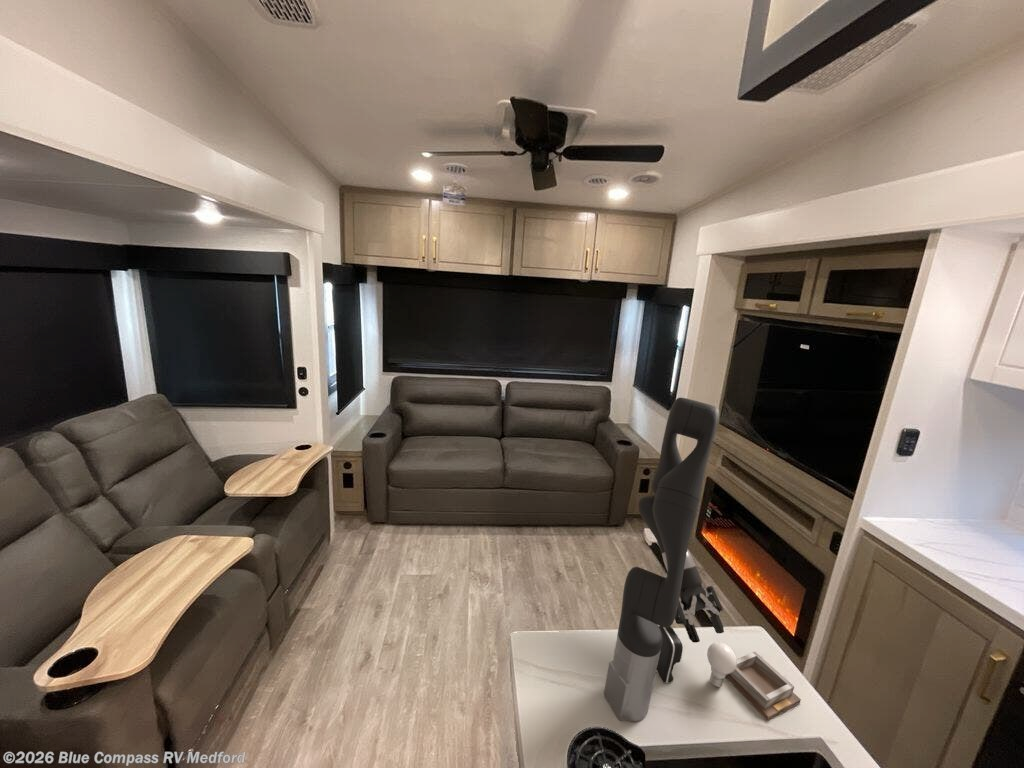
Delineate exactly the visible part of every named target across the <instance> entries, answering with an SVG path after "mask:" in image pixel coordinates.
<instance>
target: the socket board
mask: <svg viewBox="0 0 1024 768" xmlns="http://www.w3.org/2000/svg"><path fill="white" fill-rule="evenodd" d="M736 659H737V666H736V669H735V670H734V671H733V672H732V673H730V674H727V675H726V677H725V678H724V679H726V680H727V681H728V682H729V683H730V684H731V685H732V686H733V687H734V688H735V689H736V690H737V691H738V692H739V693H740V694H741V695H742V697H744V698H745V700H747V701H748V702H749V703H750V704H751V706H753V707H754V709H755V710H756V711H757V712H759V714H760V715H761V716H762V717H763V718H764V719H765V720H766V721H769V720H771V719H773V718H775V717H776V716H778V715H780V714H782V713H784V712H786V711H787V710H789V709H792V708H793V707H794V706H797V705H798V704H800V703H801V701H802V699H801V698H800V697H799V695H797V694H796V693H795V692H794V689H795V686H794V685H793V683H792V682H790V681H789V680H788V679H787V678H785V677H784V676H783V675H782V674H781V673H780V672H779V671H778V670H776V669H775V668H774V667H773V666H772V665H771V664H770V663H769V662H767V661H766V660H765V659H764V658H763V657H762V656H761V655H760V654H759V653H757V652H756V651H752V652H751V653H747V654H745V655H743V656H741V657H739V658H736Z"/></svg>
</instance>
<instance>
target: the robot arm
mask: <svg viewBox="0 0 1024 768" xmlns="http://www.w3.org/2000/svg"><path fill="white" fill-rule="evenodd" d="M719 421H720V410H719V408H718V407H716V406H715V405H712V404H708V403H706V402H702V401H697V400H694V399H690V398H685V397H677V398H676V399H674V402H673V403H672V406H671V408H670V411H669V413H668V417H667V421H666V425H665V429H664V434H663V439H662V444H661V450H660V455H659V460H658V465H657V468H656V470H655V472H654V473H655V474H654V475H653V480H652V482H651V490H652V491H653V493H654V494H651V495H646V496H645V495H644V496H643V497H641V498H640V499H639V500H638V505H637V506H638V512H639V514H640V517H641V518H642V520H643V521H644V523H645V524H646V525H647V527H648V530H650V532H651V534H652V535H653V536H654V539H655V540H656V542H657V545H658V547H659V551H660V554H661V555H662V559H663V560H662V561H663V563H664V566H665V569H666V571H667V573H666V574H667V576H666V577H665V576H662V575H660V574H657V573H655V572H652V571H649V570H647V569H645V568H642V567H639V566H634V567H632V568H630V569H629V571H628V573H627V575H626V578H625V581H624V586H623V592H622V602H621V611H620V617H619V618H620V619H619V624H618V628H617V629H618V630H617V633H616V635H617V636H616V640H615V646H614V651H613V659H612V660H611V661H609V662H608V667H607V673H606V678H605V679H606V680H605V685H604V691H603V697H604V698H605V700H606V701H607V703H608V704H609V706H610V707H611V709H612V711H613V712H614V714H615V715H616V717H617V718H618V720H619V721H622V720H623V721H624V720H626V721H629V722H640V721H642V720H644V719H645V718H646V717H647V715H648V712H649V708H650V702H651V698H652V694H653V688H654V683H655V679H656V675H657V674H656V673H657V665H658V661H659V656H660V651H661V646H662V640H663V638H662V633H661V630H660V628H659V627H658V626H662V627H665V628H668V627H672V625H673V624H674V621H675V623H676V625H683V627H684V628H685V631H686V633H687V636H688V638H689V640H690V641H691V642H692V643H700V642H701V640H700V636H699V634H698V631H697V628H696V626H695V624H693V623H694V622H693V621H694V616H695V615H696V612H697V611H700V610H703V611H705V613H706V614H708V616H710V617H709V619H710V621H711V624H712V626H713V629H714V631H715V633H716V634H723V633H724V632H725V630H724V625H723V622H722V621H721V618H720V616H719V615H720V613H721V612H723V610H724V609H723V608H724V607H723V606H722V603H721V602H720V599H719V598H718V595H717V593H716V591H715V588H714V587H713V585H709V586H708V585H707V586H704V587H703V585H702V584H703V580H702V578H701V576H700V572H699V570H698V568H697V565H696V563H695V561H694V558H693V556H692V554H691V552H690V550H689V544H690V541H691V537H692V533H693V529H694V525H695V521H696V516H697V512H698V509H699V504H700V499H701V494H702V487H703V483H704V478H705V472H706V468H707V463H708V460H709V457H710V453H711V450H712V447H713V443H714V440H715V435H716V432H717V430H718V425H719ZM678 435H679V436H683V437H684V436H685V437H687V438H691V439H694V440H697V441H696V445H695V447H694V448H693V450H692V451H691V452H690V453H689V454H688V455H687V456H686V457H685V458H684V459H682V456H681V454H680V451H679V449H678V445H677V444H678V443H677V438H678V437H677V436H678Z"/></svg>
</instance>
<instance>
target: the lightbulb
mask: <svg viewBox="0 0 1024 768" xmlns="http://www.w3.org/2000/svg"><path fill="white" fill-rule="evenodd" d="M706 655H707V662H708V663H709V664H710V671H711V674H710V676H709V680H710V683H711V684H712V685H713V686H715V687H717V688H720V687H722V686H723V682H724V679H726V678H725V677H726V675H727V674H730V673H732V672H733V671H734V670H735V669H736V666H737V659H738V658H737V656H736V654H735V651H734V650H733V649H732V648H731V646H729V645H727V644H726V643H724V642H721V641H715V642H712V643H711V644H709V647H708V648H707V652H706Z"/></svg>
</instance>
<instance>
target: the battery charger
mask: <svg viewBox="0 0 1024 768" xmlns="http://www.w3.org/2000/svg"><path fill="white" fill-rule="evenodd" d="M658 627H659V628H660V630H661V633H662V638H663V640H662V646H661V651H660V656H659V661H658V665H657V670H656V673H657V674H658V676H659V677H660V679H661V682H662V683H664V684H668V683H672V682H673V681H674V679H675V677H674V675H673V674H672V673H673V670H674V666H675V665H676V664H679V663H681V660H682V656H683V650H684V649H683V648H684V646H683V642H682V641H681V639H680V638H679V636H678V634H677V633H676V631H675V630H674V628H673V627H672V626H670V627H668V628H665V627H662V626H659V625H658Z"/></svg>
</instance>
